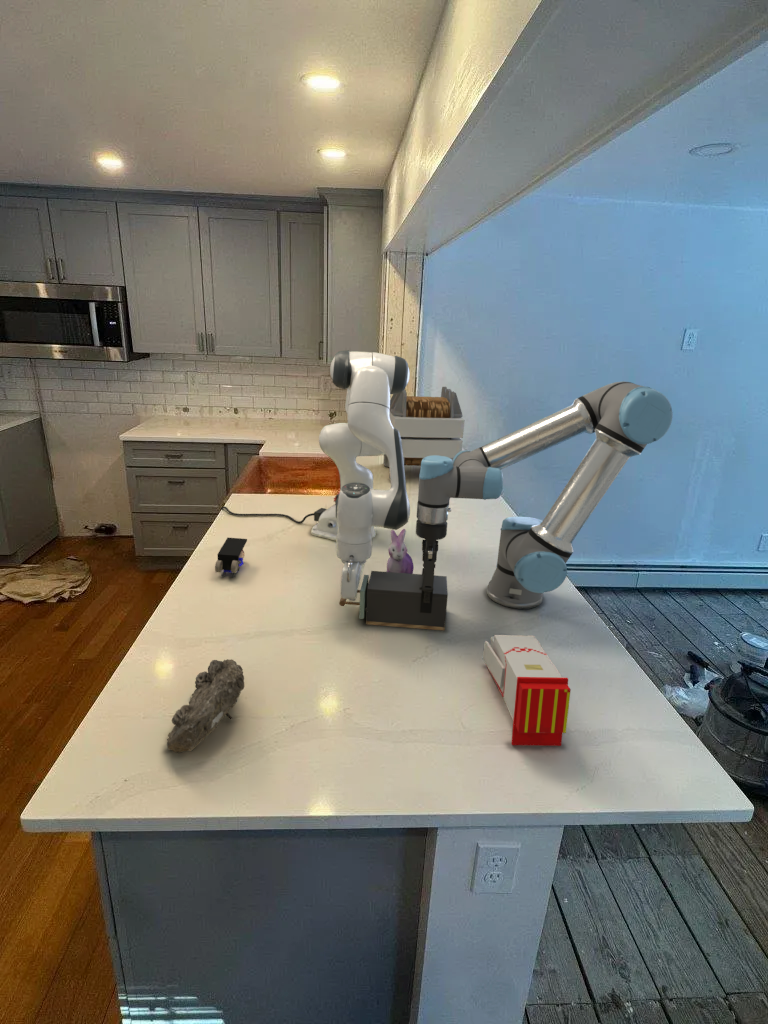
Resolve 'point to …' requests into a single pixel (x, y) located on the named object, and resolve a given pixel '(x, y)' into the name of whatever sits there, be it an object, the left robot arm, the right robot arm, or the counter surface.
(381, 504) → the left robot arm
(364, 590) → the drawer
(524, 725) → the toy
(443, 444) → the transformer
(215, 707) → the fossil
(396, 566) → the figurine
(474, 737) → the counter surface
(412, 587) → the cabinet
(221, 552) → the black wheeled block
